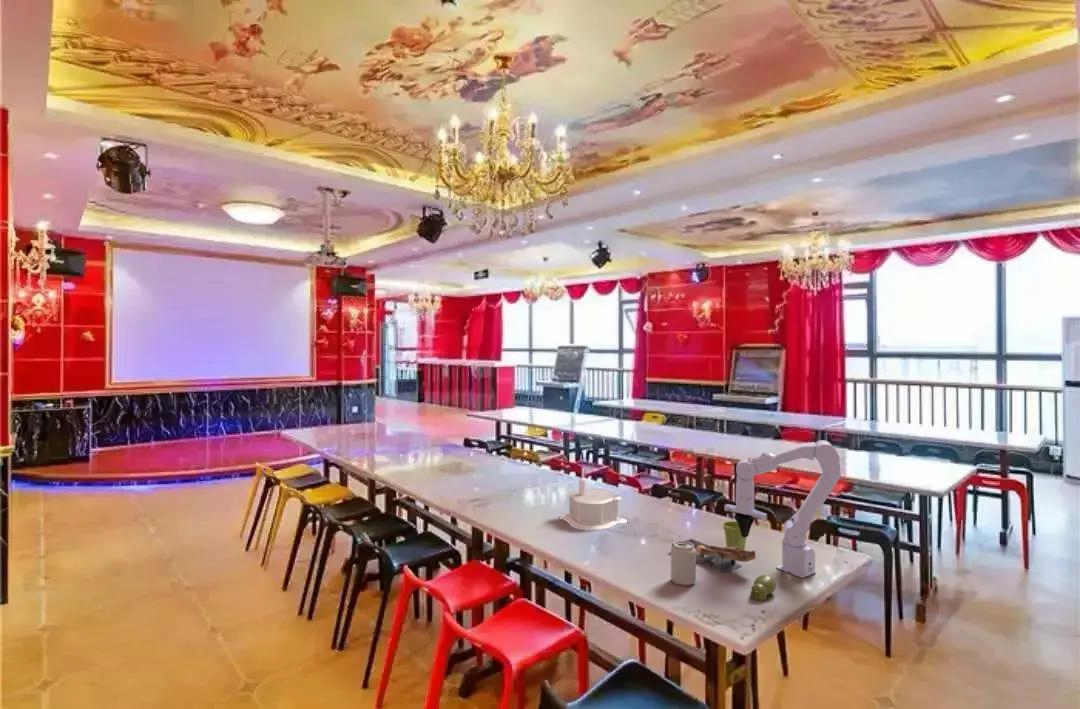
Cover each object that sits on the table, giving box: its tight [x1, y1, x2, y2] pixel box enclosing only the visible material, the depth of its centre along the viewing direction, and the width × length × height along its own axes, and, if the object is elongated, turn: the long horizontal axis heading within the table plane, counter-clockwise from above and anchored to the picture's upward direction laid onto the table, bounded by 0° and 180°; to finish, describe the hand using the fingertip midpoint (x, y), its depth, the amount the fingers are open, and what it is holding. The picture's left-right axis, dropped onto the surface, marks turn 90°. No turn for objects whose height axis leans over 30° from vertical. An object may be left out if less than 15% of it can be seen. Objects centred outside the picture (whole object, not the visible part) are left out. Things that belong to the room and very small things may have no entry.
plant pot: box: [721, 520, 747, 551], centre depth 202 cm, size 9×9×9 cm
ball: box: [696, 545, 706, 556], centre depth 194 cm, size 4×4×4 cm
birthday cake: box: [560, 468, 628, 530], centre depth 235 cm, size 30×29×22 cm
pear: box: [749, 574, 777, 602], centre depth 164 cm, size 6×5×10 cm
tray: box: [671, 538, 714, 564], centre depth 196 cm, size 12×10×3 cm
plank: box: [701, 545, 757, 563], centre depth 187 cm, size 18×13×2 cm
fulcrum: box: [708, 553, 742, 574], centre depth 186 cm, size 6×9×5 cm, turn 123°
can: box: [670, 540, 697, 587], centre depth 173 cm, size 8×8×12 cm
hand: (744, 536), depth 188 cm, fingers closed
